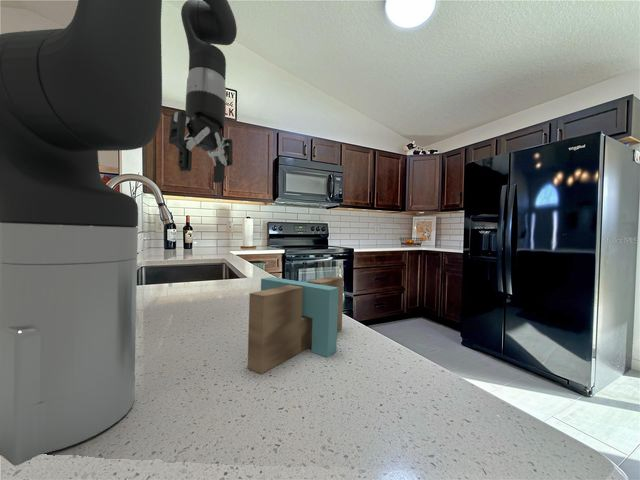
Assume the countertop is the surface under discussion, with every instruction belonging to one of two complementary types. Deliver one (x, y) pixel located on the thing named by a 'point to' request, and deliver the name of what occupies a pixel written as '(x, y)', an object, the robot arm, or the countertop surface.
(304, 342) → the u-shaped wooden block
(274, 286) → the teal l-shaped piece
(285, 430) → the countertop surface
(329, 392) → the countertop surface
